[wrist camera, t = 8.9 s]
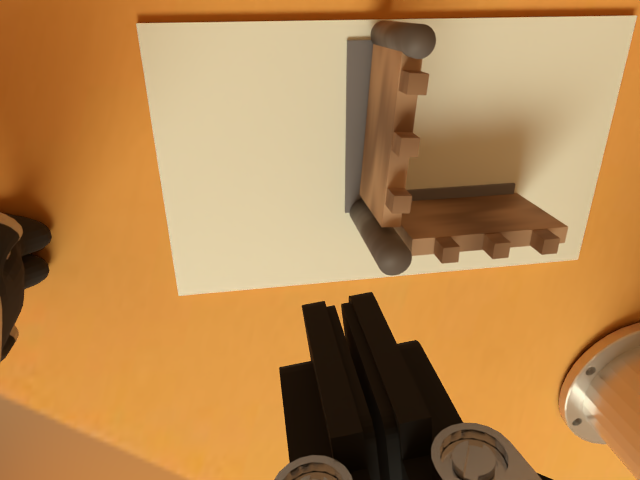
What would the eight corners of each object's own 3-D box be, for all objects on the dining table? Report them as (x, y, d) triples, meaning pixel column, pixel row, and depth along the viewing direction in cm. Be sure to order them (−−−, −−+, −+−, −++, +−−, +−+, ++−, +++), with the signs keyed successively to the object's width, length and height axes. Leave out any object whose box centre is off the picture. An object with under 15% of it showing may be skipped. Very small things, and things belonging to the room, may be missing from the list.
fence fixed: (514, 184, 33) (583, 229, 26) (510, 210, 33) (576, 259, 27) (348, 195, 31) (378, 245, 25) (347, 222, 32) (377, 276, 25)
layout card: (632, 15, 29) (639, 15, 28) (574, 257, 36) (579, 260, 35) (137, 22, 25) (135, 23, 25) (179, 292, 32) (178, 297, 31)
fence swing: (378, 194, 30) (411, 236, 25) (356, 194, 30) (384, 236, 24) (397, 21, 26) (441, 25, 21) (371, 19, 26) (409, 23, 20)
